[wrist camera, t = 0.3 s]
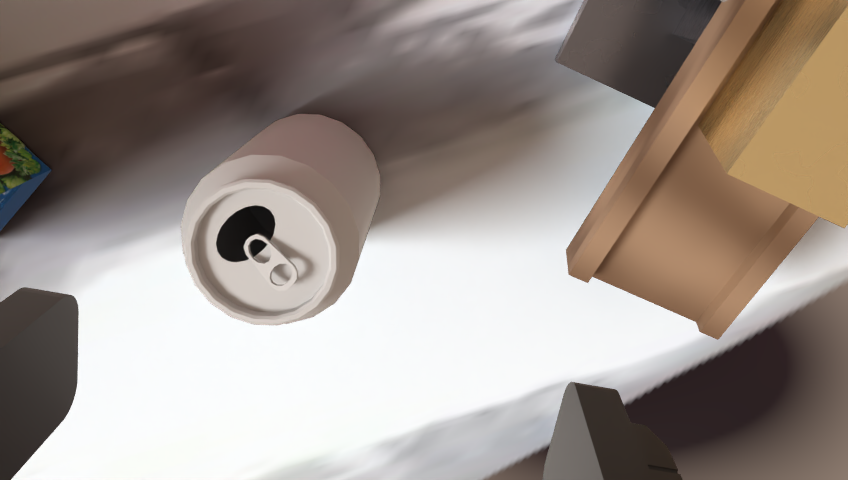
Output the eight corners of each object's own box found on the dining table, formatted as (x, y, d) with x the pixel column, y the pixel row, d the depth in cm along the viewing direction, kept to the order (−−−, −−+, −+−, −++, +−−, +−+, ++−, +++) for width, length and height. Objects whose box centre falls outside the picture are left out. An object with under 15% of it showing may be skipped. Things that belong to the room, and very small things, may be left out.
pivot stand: (675, -184, 34) (743, -234, 26) (966, -34, 36) (1114, -37, 28) (554, 60, 38) (581, 81, 30) (822, 185, 39) (915, 238, 32)
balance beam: (949, -427, 25) (1044, -483, 21) (1151, -309, 26) (1285, -338, 22) (557, 219, 39) (563, 272, 34) (699, 282, 40) (723, 342, 35)
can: (311, 80, 39) (252, 123, 27) (410, 182, 40) (394, 262, 29) (217, 176, 40) (126, 252, 29) (316, 269, 42) (266, 375, 31)
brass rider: (804, -34, 28) (857, -8, 23) (916, 22, 28) (988, 58, 24) (698, 125, 31) (726, 173, 27) (799, 173, 32) (844, 228, 27)
